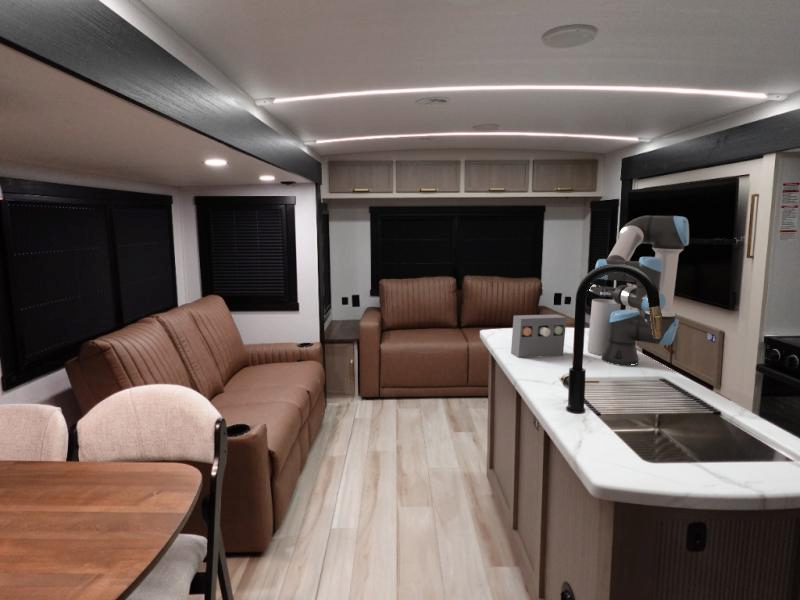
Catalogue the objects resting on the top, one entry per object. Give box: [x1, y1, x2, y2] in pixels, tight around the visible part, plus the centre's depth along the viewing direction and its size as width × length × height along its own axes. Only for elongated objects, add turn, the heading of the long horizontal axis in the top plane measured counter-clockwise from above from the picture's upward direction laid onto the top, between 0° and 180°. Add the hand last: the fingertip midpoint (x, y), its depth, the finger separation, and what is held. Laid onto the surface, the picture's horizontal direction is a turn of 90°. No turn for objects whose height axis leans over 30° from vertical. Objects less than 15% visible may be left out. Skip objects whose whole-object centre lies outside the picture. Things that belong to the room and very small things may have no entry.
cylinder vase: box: [587, 298, 622, 356], centre depth 233 cm, size 12×12×25 cm
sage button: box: [554, 325, 563, 335], centre depth 227 cm, size 4×4×4 cm
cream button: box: [538, 326, 550, 337], centre depth 223 cm, size 4×4×4 cm
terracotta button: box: [522, 326, 531, 336], centre depth 223 cm, size 4×4×4 cm
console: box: [510, 313, 567, 359], centre depth 227 cm, size 23×7×18 cm, turn 105°
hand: (588, 287), depth 210 cm, fingers closed
